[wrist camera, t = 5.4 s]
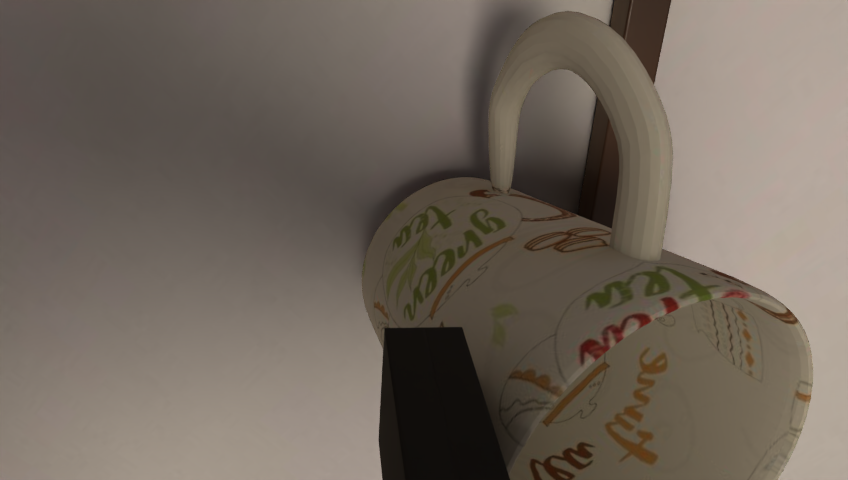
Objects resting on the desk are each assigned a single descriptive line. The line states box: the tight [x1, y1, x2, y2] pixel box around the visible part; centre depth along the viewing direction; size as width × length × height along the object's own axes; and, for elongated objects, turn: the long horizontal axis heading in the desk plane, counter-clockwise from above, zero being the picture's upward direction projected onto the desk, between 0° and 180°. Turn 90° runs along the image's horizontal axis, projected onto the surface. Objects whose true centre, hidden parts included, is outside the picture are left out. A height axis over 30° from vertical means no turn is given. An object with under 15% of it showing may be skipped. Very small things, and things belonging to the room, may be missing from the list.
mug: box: [362, 11, 813, 480], centre depth 18 cm, size 8×13×10 cm, turn 179°
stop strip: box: [578, 0, 671, 229], centre depth 23 cm, size 16×1×1 cm, turn 176°
